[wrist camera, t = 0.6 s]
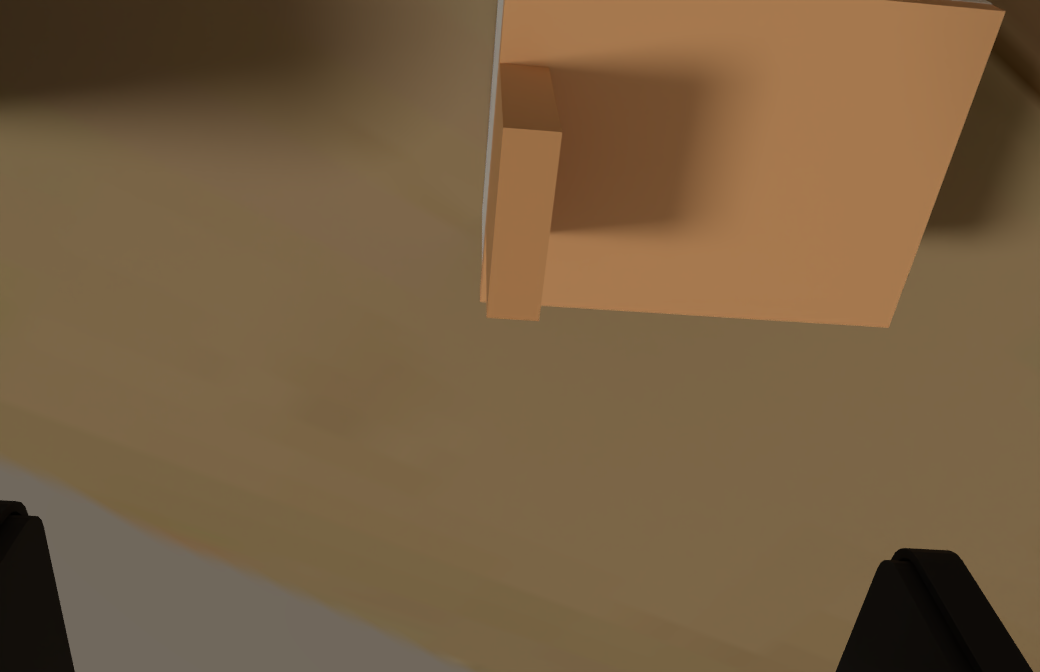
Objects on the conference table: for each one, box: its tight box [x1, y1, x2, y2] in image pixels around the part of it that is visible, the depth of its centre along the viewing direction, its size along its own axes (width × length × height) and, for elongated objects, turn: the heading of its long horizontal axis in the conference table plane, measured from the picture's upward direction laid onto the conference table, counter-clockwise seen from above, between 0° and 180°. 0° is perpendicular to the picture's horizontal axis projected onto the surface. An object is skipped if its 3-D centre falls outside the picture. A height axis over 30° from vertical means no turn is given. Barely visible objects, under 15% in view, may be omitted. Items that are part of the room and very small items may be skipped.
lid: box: [480, 0, 1006, 328], centre depth 30 cm, size 12×16×8 cm
